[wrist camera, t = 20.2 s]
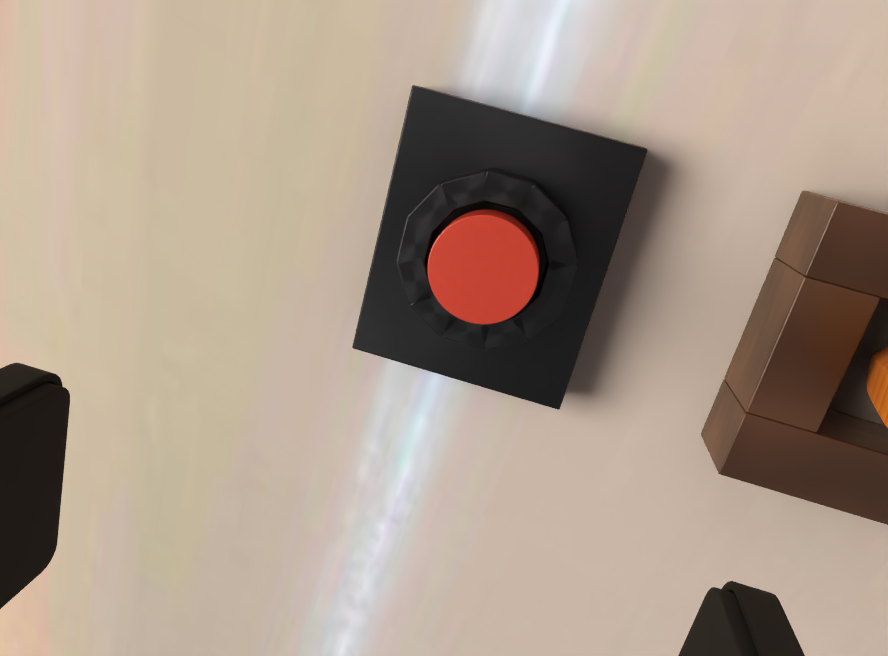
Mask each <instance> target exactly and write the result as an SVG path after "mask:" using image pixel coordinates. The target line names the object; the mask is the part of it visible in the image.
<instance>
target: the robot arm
mask: <svg viewBox="0 0 888 656" xmlns="http://www.w3.org/2000/svg"><path fill="white" fill-rule="evenodd" d="M69 405H70V394H69V391H68V390H67V389H66V388H64V387H62V382H61V379H60V377H59V376H57V375H56V374H53V373H50V372H47V371H43V370H40V369H37V368H34V367H30V366H27V365H24V364H20V363H14V364H10V365H8V366H5V367H3V368H1V369H0V609H1V608H2V607H3V606H4V605H5V604H6V603H7V602H9V601H10V600H11V599H12V598H13V597H14V596H15V595H16V594H18V593H19V592H20V591H21V590H22V589H23V588H24V587H25V586H27V585H28V584H29V583H30V582H31V581H32V580H33V579H34V578H36V577H37V576H38V575H39V574H40V573H41V572H42V571H43V570H44V569H45V568H46V567H47V565H48V564H49V562H50V561H51V559H52V557H53V555H54V553H55V550H56V546H57V538H58V527H59V516H60V505H61V494H62V483H63V472H64V461H65V450H66V439H67V427H68V416H69ZM679 656H805V655H804V653H803V651H802V649H801V647H800V644H799V642H798V640H797V638H796V636H795V634H794V632H793V629H792V627H791V625H790V623H789V621H788V619H787V617H786V614H785V612H784V610H783V608H782V606H781V604H780V601H779V600H778V598H777V597H776V595H774V594H772V593H769V592H766V591H762V590H759V589H756V588H753V587H749V586H746V585H743V584H740V583H736V582H733V581H730V582H727V583H726V584H725V585H724V586H723V588H722V589H718V588H715V587H713V588H711V589H710V590H709V591H708V592H707V594H706V596H705V598H704V600H703V602H702V605H701V607H700V609H699V611H698V614H697V616H696V618H695V620H694V622H693V625H692V627H691V629H690V631H689V634H688V636H687V638H686V640H685V642H684V645H683V647H682V649H681V651H680V653H679Z"/></svg>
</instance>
